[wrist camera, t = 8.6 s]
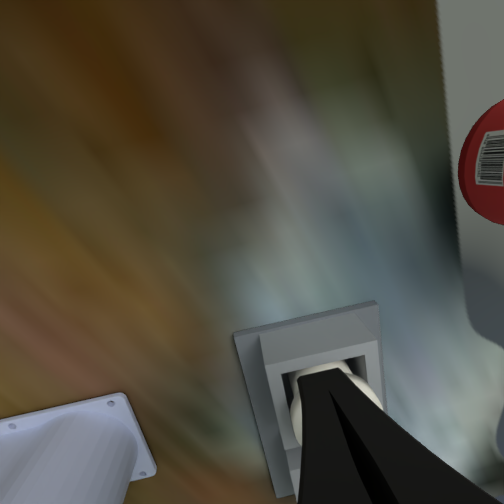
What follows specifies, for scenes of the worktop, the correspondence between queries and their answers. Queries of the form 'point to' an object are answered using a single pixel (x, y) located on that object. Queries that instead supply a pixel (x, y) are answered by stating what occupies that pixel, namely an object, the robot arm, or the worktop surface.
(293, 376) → the cream plug
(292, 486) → the socket board
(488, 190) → the canned food
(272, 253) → the worktop surface
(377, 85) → the worktop surface
